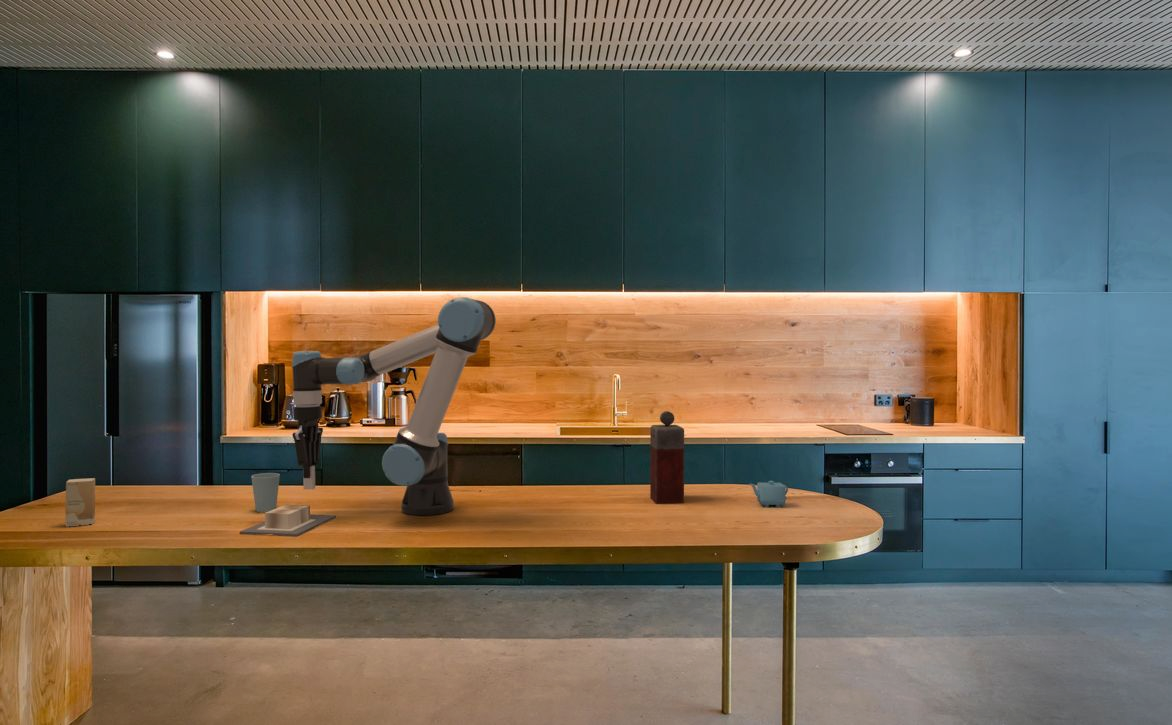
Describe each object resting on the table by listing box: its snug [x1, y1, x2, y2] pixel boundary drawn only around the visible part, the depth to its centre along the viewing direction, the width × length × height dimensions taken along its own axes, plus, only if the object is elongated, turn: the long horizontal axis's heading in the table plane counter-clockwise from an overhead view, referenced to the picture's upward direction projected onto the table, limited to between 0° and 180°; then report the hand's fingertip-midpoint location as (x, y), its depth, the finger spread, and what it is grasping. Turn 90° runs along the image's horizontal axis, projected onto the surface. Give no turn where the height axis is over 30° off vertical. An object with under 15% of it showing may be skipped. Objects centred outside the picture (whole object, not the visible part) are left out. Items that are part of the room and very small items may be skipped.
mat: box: [239, 513, 337, 537], centre depth 194 cm, size 16×20×1 cm
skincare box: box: [65, 477, 96, 528], centre depth 195 cm, size 6×4×12 cm
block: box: [264, 504, 311, 529], centre depth 193 cm, size 7×4×10 cm
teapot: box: [748, 480, 789, 508], centre depth 217 cm, size 12×6×8 cm, turn 88°
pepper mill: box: [649, 410, 685, 505], centre depth 225 cm, size 9×11×28 cm
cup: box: [251, 472, 281, 513], centre depth 211 cm, size 8×8×10 cm
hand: (309, 488), depth 202 cm, fingers closed
